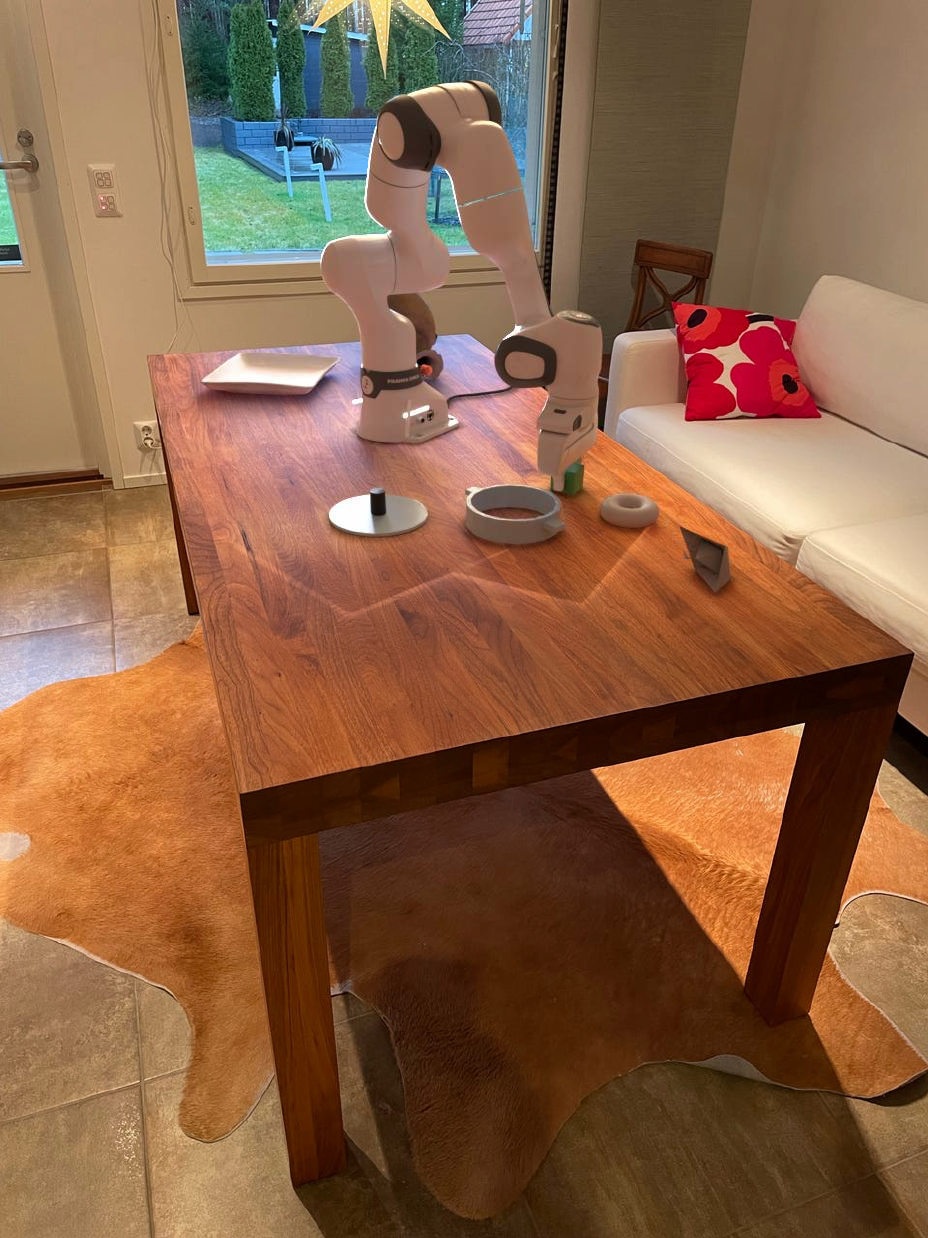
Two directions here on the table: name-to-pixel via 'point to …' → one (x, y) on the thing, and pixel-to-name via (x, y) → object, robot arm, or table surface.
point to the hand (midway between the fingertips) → (566, 483)
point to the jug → (419, 328)
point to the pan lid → (378, 514)
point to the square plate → (270, 373)
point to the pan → (513, 528)
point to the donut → (629, 510)
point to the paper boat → (708, 559)
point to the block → (572, 479)
